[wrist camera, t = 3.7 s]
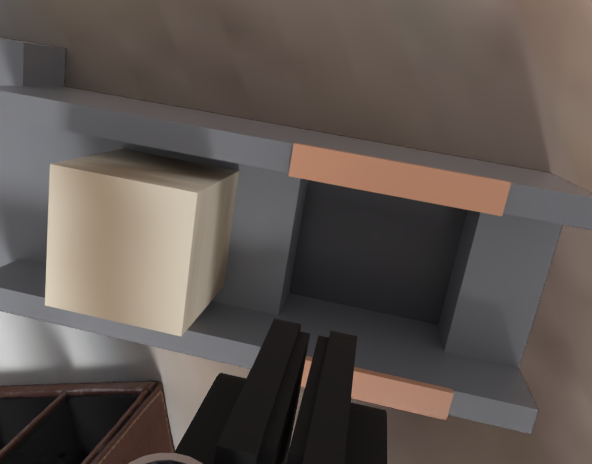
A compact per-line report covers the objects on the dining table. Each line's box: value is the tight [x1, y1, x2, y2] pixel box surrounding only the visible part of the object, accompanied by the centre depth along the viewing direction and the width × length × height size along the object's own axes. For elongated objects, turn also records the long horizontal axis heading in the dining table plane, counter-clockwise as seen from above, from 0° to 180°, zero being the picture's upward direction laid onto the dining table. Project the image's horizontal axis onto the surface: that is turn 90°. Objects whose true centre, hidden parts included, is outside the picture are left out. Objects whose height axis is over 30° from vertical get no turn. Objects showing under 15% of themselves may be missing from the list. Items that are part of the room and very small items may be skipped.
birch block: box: [45, 149, 239, 336], centre depth 20 cm, size 5×5×5 cm
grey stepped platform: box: [0, 37, 592, 434], centre depth 23 cm, size 34×12×6 cm, turn 81°
